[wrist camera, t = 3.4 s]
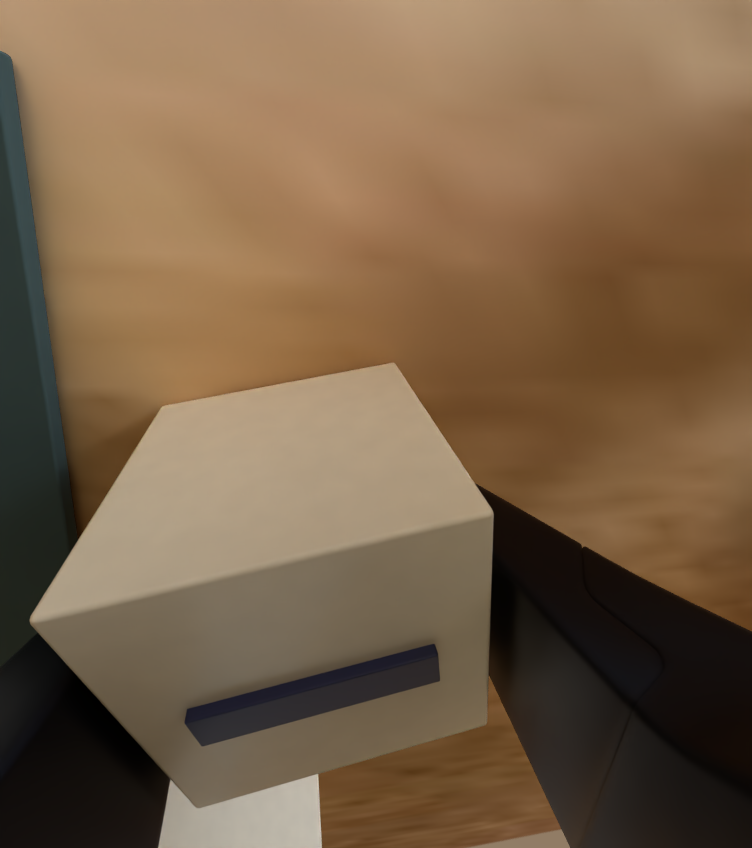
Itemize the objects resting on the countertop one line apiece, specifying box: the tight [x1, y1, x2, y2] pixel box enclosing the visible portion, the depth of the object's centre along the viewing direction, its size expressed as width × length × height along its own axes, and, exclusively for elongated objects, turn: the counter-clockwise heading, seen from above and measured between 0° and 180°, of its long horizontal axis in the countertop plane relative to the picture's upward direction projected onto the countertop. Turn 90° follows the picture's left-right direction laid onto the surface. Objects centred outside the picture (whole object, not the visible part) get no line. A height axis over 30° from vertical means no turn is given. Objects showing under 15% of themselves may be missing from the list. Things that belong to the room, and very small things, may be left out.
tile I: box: [30, 363, 494, 808], centre depth 7 cm, size 4×4×5 cm
